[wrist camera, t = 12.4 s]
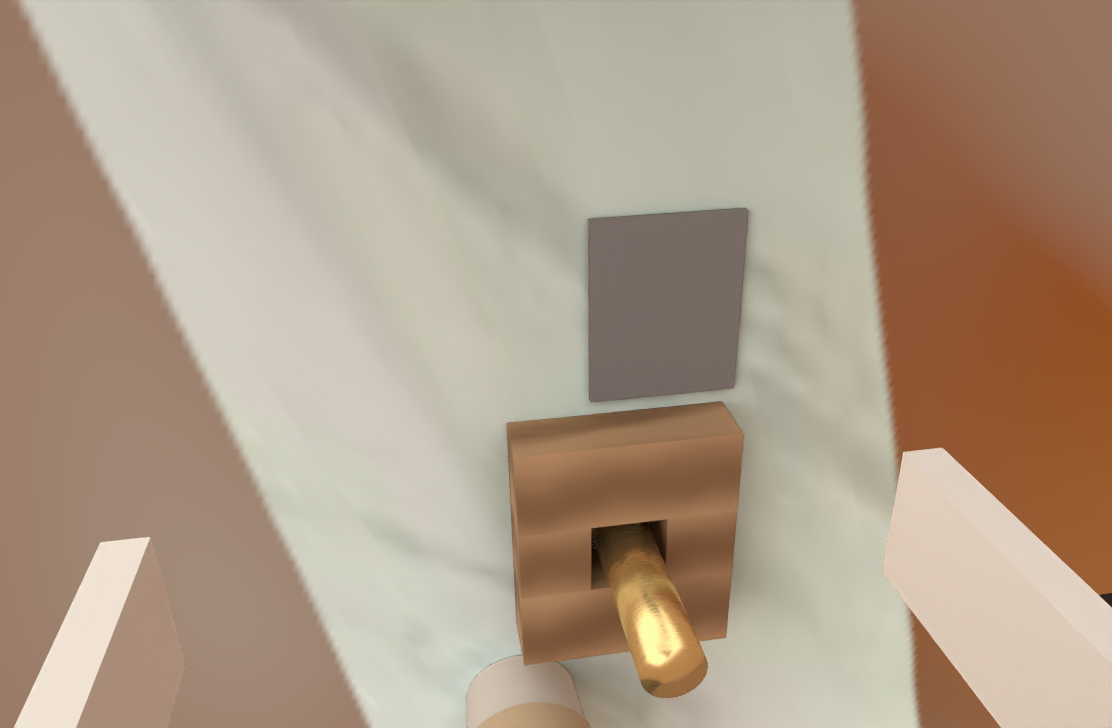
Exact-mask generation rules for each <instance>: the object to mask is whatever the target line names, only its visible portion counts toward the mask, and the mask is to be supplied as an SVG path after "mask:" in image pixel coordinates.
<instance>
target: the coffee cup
mask: <svg viewBox="0 0 1112 728" xmlns="http://www.w3.org/2000/svg"><path fill="white" fill-rule="evenodd" d="M466 728H591V727H590V725H589V723H588V722H587V720H586V719H585V716H584V713H583V710H582V707H581V704H580V701H579V698H578V696H577V693H576V690H575V687H574V684H573V681H572V678H571V676H570V674H569V673H568V671H567V670H566V669H565V668H564V667H563V666H562V665H560V664H559V663H557V662H556V661H555V662H548V663H541V664H534V665H527V666H524V661H523V655H519V656H513V657H509V658H505V659H502V660H500V661H497V662H495V663H493V664H491V665H489V666H488V667H486V668H485V669H484V670H482V671H481V672H480V673H479V674H478V675H477V676H476V677H475V678H474V680H473V681H472V683H471V684H470V686H469V688H468V691H467V696H466Z"/></svg>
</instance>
